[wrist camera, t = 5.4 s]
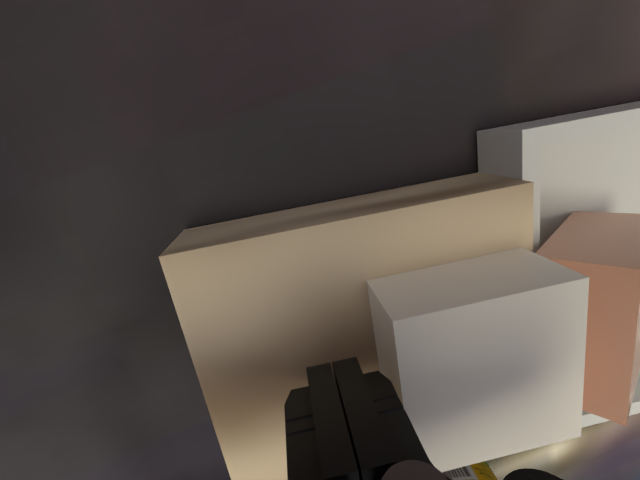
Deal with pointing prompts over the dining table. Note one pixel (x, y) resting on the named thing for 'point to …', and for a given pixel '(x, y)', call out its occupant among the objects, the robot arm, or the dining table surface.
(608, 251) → the tile terracotta
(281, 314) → the beige wooden board
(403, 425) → the robot arm
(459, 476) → the supplement bottle
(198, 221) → the dining table surface
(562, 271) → the tile cream
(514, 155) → the tray
